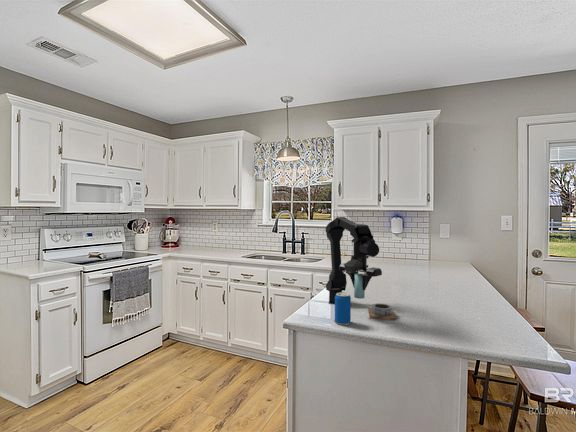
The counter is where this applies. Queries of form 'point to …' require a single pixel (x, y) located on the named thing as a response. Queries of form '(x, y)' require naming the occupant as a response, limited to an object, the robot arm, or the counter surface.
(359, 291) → the peg
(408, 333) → the counter surface
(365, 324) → the counter surface
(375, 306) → the collar
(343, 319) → the beverage can
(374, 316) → the base board
